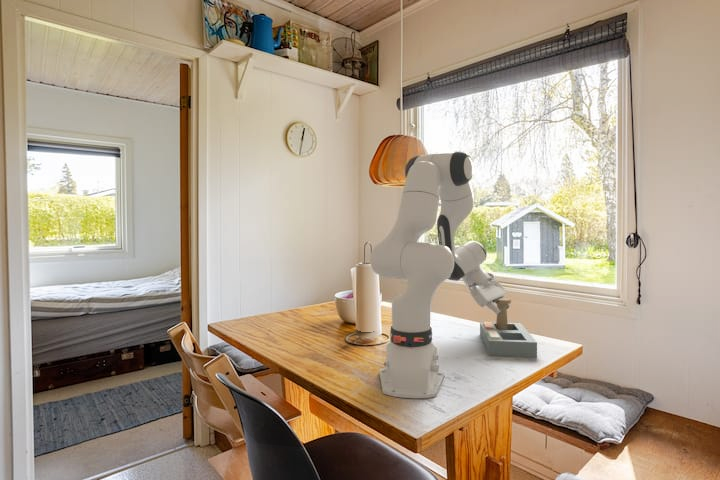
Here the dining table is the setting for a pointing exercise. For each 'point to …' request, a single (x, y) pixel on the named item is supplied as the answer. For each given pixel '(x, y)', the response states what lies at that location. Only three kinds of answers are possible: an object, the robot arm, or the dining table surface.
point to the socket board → (508, 340)
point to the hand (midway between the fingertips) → (503, 310)
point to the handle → (502, 313)
